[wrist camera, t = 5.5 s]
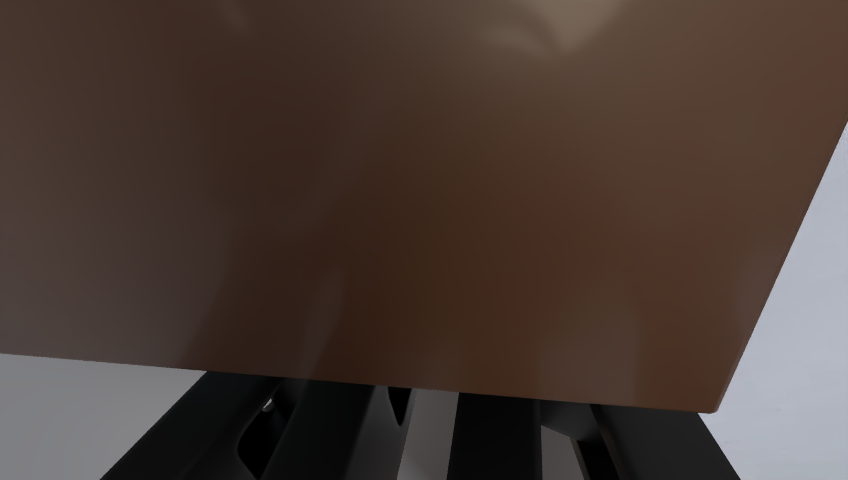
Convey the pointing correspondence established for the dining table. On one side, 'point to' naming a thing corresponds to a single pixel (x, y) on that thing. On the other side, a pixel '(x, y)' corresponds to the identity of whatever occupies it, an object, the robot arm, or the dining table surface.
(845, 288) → the dining table surface
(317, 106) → the cabinet
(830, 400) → the dining table surface
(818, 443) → the dining table surface
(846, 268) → the dining table surface
